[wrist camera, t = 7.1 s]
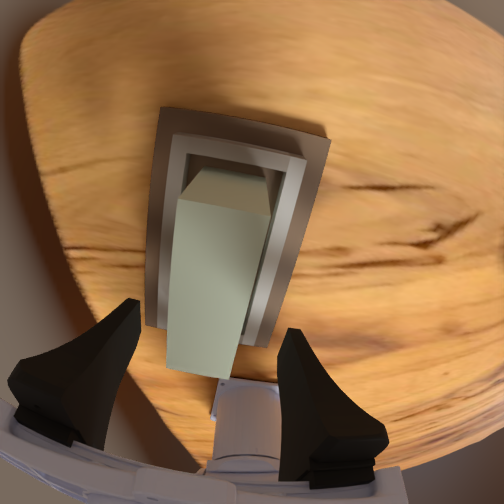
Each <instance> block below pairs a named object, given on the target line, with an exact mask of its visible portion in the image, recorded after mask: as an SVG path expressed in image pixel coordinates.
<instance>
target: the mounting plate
mask: <svg viewBox="0 0 504 504" xmlns="http://www.w3.org/2000/svg"><path fill="white" fill-rule="evenodd" d="M330 144H331V140H330V139H328V138H325V137H321V136H317V135H314V134H310V133H306V132H302V131H298V130H294V129H290V128H286V127H282V126H277V125H273V124H268V123H264V122H259V121H254V120H249V119H244V118H239V117H233V116H228V115H222V114H215V113H209V112H202V111H195V110H188V109H180V108H171V107H161V108H160V114H159V121H158V127H157V134H156V141H155V148H154V156H153V165H152V174H151V183H150V194H149V206H148V220H147V237H146V262H145V325H147V326H152V327H156V328H160V329H165V330H167V323H168V302H169V286H170V272H171V259H172V248H173V237H174V227H175V218H176V209H177V201H178V198H179V196H180V195H181V194H182V193H183V191H184V190H185V189H186V188H187V186H188V185H189V184H190V183H191V182H192V180H193V179H194V178H195V177H196V175H197V174H198V173H199V172H200V171H201V169H202V168H203V167H204V166H207V167H213V168H218V169H224V170H229V171H234V172H240V173H245V174H250V175H255V176H259V177H264V178H266V184H267V191H268V199H269V206H270V214H271V218H270V222H269V226H268V230H267V234H266V238H265V242H264V246H263V249H262V253H261V257H260V261H259V265H258V269H257V273H256V277H255V281H254V285H253V289H252V293H251V296H250V300H249V304H248V308H247V312H246V316H245V320H244V323H243V327H242V331H241V335H240V339H239V343H238V344H244V345H250V346H257V347H264V348H267V346H268V343H269V341H270V338H271V335H272V332H273V329H274V326H275V323H276V320H277V318H278V315H279V312H280V309H281V306H282V303H283V300H284V297H285V294H286V291H287V288H288V285H289V282H290V279H291V276H292V272H293V269H294V266H295V263H296V260H297V257H298V254H299V250H300V247H301V244H302V241H303V238H304V234H305V231H306V228H307V224H308V221H309V218H310V214H311V211H312V208H313V204H314V201H315V198H316V194H317V191H318V187H319V184H320V180H321V177H322V173H323V169H324V166H325V162H326V159H327V155H328V151H329V147H330Z"/></svg>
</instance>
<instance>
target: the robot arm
mask: <svg viewBox="0 0 504 504" xmlns="http://www.w3.org/2000/svg"><path fill="white" fill-rule="evenodd" d="M140 333H141V315H140V300H135V299H131V298H128V299H126V300H125V301H124V302H123V303H122V304H120V305H119V306H118V307H117V308H116V309H115V310H113V311H112V312H111V313H110V314H109V315H107V316H106V317H105V318H104V319H102V320H101V321H100V322H99V323H97V324H96V325H95V326H94V327H92V328H90V329H89V330H88V331H87V332H85V333H83V334H82V335H80V336H79V337H77V338H75V339H74V340H72V341H70V342H68V343H66V344H64V345H62V346H60V347H58V348H56V349H53V350H51V351H48V352H45V353H43V354H40V355H37V356H33V357H29V358H26V359H22V360H20V361H19V362H18V364H17V365H16V367H15V368H14V370H13V371H12V373H11V375H10V377H9V378H8V380H7V381H8V386H9V388H10V390H11V392H12V393H13V395H14V396H15V398H16V399H17V401H18V402H19V406H18V408H17V409H16V408H15V407H14V406H13V405H12V404H10V403H8V402H6V401H5V400H3V399H2V398H0V457H1V458H2V459H4V460H6V461H7V462H9V463H10V464H12V465H14V466H15V467H17V468H18V469H20V470H22V471H23V472H25V473H27V474H28V475H30V476H32V477H34V478H35V479H37V480H39V481H41V482H43V483H44V484H46V485H48V486H50V487H52V488H54V489H56V490H58V491H60V492H62V493H64V494H66V495H68V496H71V497H72V498H75V499H77V500H79V501H81V502H84V503H86V504H409V503H408V499H407V494H406V490H405V486H404V482H403V478H402V474H401V470H400V467H399V466H395V467H389V468H383V469H379V470H376V471H373V466H374V465H375V459H374V458H375V457H376V456H377V455H378V454H380V453H381V452H382V451H383V450H384V449H385V448H386V447H387V446H388V444H389V439H388V435H387V431H386V428H385V426H384V424H382V423H381V422H379V421H378V420H376V419H375V418H373V417H372V416H370V415H369V414H368V413H366V412H365V411H364V410H363V409H361V408H360V407H359V406H358V405H356V404H355V403H354V402H353V401H352V400H351V399H350V398H349V397H348V396H347V395H346V394H345V393H344V392H343V391H342V390H341V389H340V388H339V387H338V386H337V384H336V383H335V382H334V381H333V380H332V378H331V377H330V376H329V375H328V373H327V372H326V370H325V369H324V368H323V366H322V365H321V363H320V362H319V360H318V358H317V357H316V355H315V354H314V352H313V350H312V349H311V347H310V345H309V343H308V342H307V340H306V338H305V336H304V335H303V333H302V331H301V330H300V329H294V328H288V330H287V333H286V335H285V338H284V340H283V343H282V346H281V348H280V351H279V353H278V356H277V379H278V383H269V382H260V381H252V380H245V379H238V378H231V377H229V380H227V379H221V378H219V381H218V385H217V390H216V394H215V399H214V403H213V408H212V412H211V417H210V419H211V420H212V421H216V427H215V437H214V447H213V457H212V460H207V467H206V469H205V468H201V469H200V470H199V471H198V472H197V473H196V474H192V473H186V472H181V471H175V470H171V469H165V468H161V467H157V466H153V465H149V464H145V463H141V462H137V461H133V460H130V459H126V458H123V457H120V456H116V455H113V454H110V453H107V452H104V444H105V439H106V434H107V429H108V424H109V420H110V416H111V412H112V408H113V404H114V401H115V397H116V394H117V391H118V388H119V385H120V382H121V380H122V378H123V376H124V373H125V371H126V369H127V367H128V365H129V362H130V360H131V358H132V356H133V354H134V351H135V349H136V346H137V343H138V340H139V337H140Z"/></svg>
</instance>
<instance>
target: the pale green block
mask: <svg viewBox="0 0 504 504" xmlns="http://www.w3.org/2000/svg"><path fill="white" fill-rule="evenodd" d="M270 218H271V214H270V206H269V199H268V191H267V184H266V178H264V177H259V176H255V175H250V174H245V173H240V172H234V171H229V170H224V169H218V168H213V167H207V166H204V167H203V168H202V169H201V171H200V172H199V173H198V174H197V175H196V177H195V178H194V179H193V180H192V182H191V183H190V184H189V185H188V186H187V188H186V189H185V190H184V191H183V193H182V194H181V195H180V196H179V198H178V201H177V209H176V218H175V227H174V237H173V248H172V259H171V272H170V286H169V302H168V323H167V356H166V368H169V369H173V370H178V371H183V372H188V373H193V374H198V375H203V376H209V377H215V378H221V379H227V380H229V377H230V373H231V369H232V365H233V362H234V358H235V354H236V350H237V346H238V343H239V339H240V335H241V331H242V327H243V323H244V320H245V316H246V312H247V308H248V304H249V300H250V296H251V293H252V289H253V285H254V281H255V277H256V273H257V269H258V265H259V261H260V257H261V253H262V249H263V246H264V242H265V238H266V234H267V230H268V226H269V222H270Z"/></svg>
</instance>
